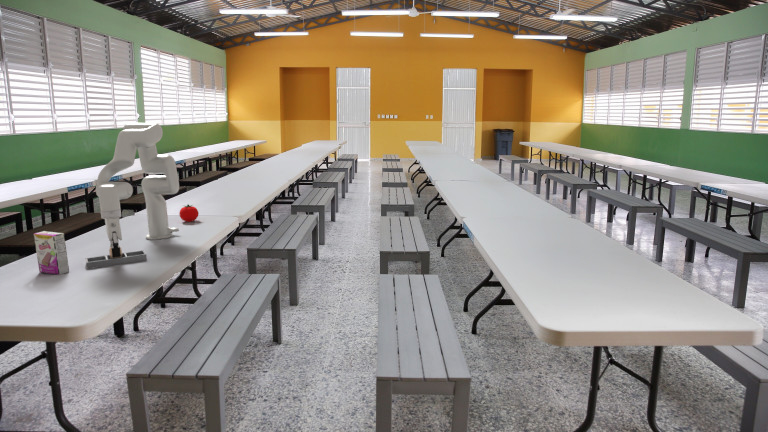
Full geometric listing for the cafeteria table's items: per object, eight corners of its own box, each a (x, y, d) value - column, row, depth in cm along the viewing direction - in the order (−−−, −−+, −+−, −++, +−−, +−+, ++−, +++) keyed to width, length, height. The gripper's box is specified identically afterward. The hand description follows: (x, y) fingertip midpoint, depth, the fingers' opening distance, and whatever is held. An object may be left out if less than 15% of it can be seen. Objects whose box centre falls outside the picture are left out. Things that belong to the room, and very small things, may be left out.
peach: (121, 254, 230) (120, 243, 229) (122, 256, 226) (121, 245, 225) (109, 256, 227) (108, 244, 226) (110, 258, 223) (108, 247, 222)
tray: (144, 255, 236) (143, 250, 235) (146, 260, 229) (146, 254, 229) (86, 264, 224) (85, 258, 224) (87, 268, 218) (86, 262, 217)
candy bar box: (38, 272, 213) (32, 233, 210) (49, 269, 218) (44, 230, 214) (59, 275, 209) (53, 235, 206) (70, 271, 214) (64, 232, 211)
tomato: (195, 223, 301) (193, 206, 299) (177, 223, 301) (175, 206, 299) (201, 219, 311) (200, 203, 309) (184, 219, 311) (182, 203, 309)
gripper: (123, 216, 217) (127, 258, 221) (118, 209, 232) (123, 249, 235) (102, 218, 214) (107, 261, 217) (99, 211, 228) (104, 252, 232)
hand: (116, 254), depth 226 cm, fingers closed on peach, 4 cm apart
